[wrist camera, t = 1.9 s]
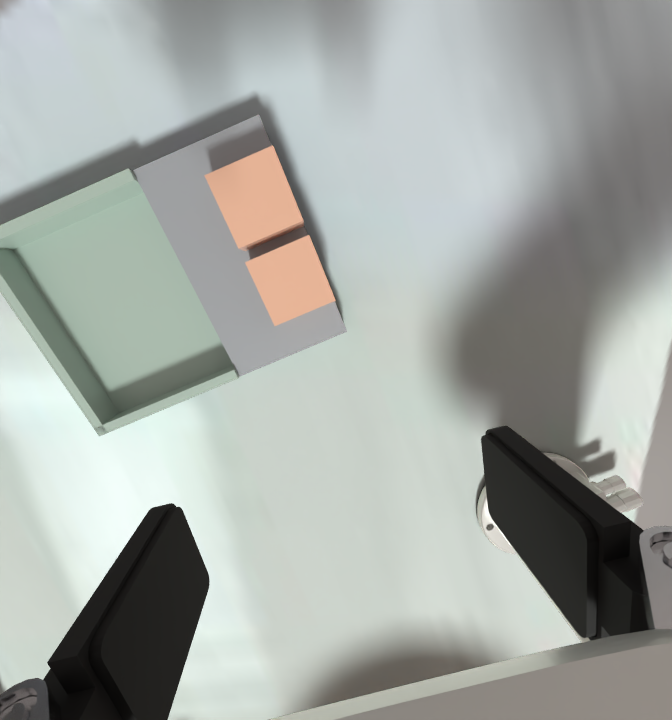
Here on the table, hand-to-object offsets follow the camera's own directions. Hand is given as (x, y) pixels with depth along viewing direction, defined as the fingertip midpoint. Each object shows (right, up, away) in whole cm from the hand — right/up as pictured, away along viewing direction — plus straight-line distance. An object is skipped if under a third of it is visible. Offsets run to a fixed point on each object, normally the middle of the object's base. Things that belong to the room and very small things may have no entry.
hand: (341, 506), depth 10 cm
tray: (-18, +9, +18) cm, 27 cm away
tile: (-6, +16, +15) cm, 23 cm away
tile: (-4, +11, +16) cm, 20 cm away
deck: (-7, +13, +18) cm, 23 cm away
